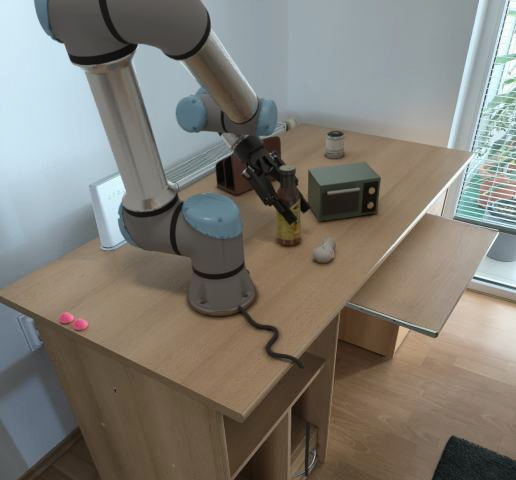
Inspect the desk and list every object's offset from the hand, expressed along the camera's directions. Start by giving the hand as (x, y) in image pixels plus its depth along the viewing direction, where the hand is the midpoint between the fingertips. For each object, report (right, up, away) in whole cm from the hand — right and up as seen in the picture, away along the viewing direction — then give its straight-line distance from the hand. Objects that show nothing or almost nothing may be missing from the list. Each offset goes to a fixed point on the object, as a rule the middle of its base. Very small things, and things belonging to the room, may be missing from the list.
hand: (300, 216), depth 129 cm
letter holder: (-13, +20, +37) cm, 45 cm away
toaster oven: (+14, +6, +18) cm, 23 cm away
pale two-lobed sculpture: (+6, -11, -1) cm, 13 cm away
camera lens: (+16, +34, +51) cm, 63 cm away
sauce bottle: (-3, -5, +7) cm, 9 cm away
